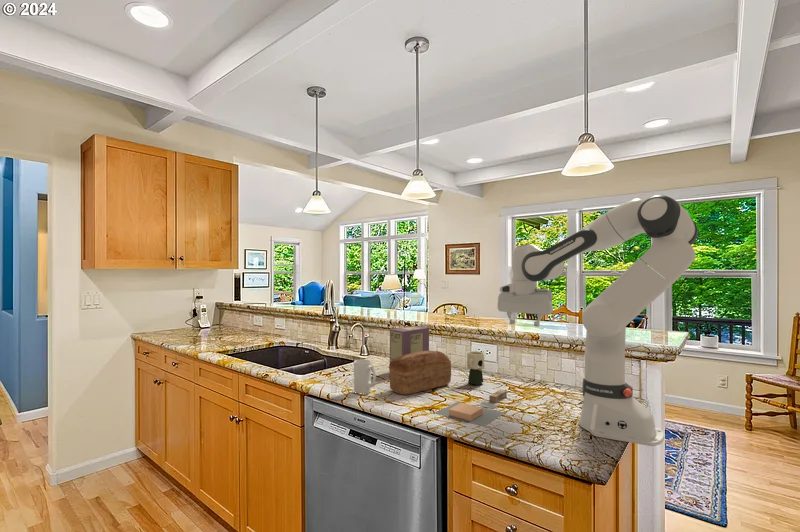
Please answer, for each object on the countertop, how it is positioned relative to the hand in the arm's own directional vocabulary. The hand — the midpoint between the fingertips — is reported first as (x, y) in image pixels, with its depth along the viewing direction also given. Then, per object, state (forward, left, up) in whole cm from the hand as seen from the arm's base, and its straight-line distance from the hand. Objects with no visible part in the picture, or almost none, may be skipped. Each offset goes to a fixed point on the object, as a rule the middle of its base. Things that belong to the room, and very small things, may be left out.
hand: (524, 325), depth 154 cm
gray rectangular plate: (+7, +28, -27) cm, 40 cm away
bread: (+38, +14, -27) cm, 48 cm away
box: (+57, -4, -27) cm, 63 cm away
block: (+7, +27, -25) cm, 38 cm away
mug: (+50, +33, -27) cm, 66 cm away
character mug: (+23, -5, -27) cm, 36 cm away
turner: (+6, +12, -27) cm, 31 cm away
